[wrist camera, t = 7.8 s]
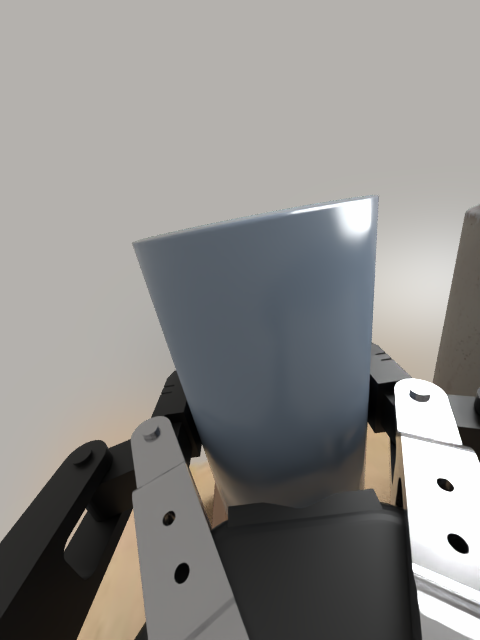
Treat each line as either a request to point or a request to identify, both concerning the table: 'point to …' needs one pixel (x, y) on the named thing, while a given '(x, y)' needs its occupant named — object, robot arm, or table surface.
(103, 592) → the table surface
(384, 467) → the table surface
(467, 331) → the thermos bottle
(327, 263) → the jug
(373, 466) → the table surface
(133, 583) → the table surface
